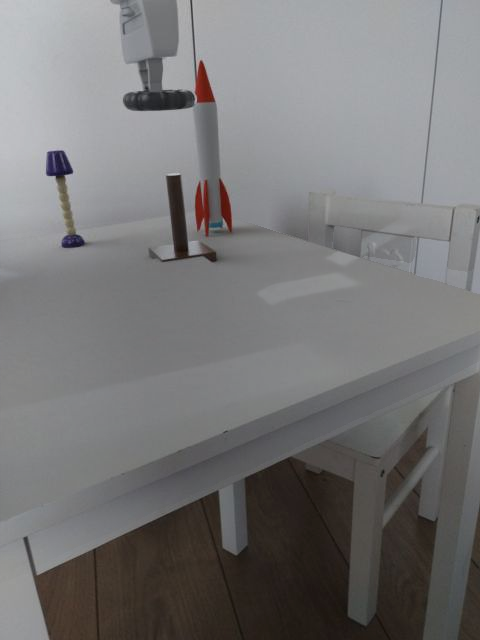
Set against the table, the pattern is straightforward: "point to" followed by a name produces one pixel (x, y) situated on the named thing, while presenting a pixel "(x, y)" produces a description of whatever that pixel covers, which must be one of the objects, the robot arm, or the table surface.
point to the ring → (159, 100)
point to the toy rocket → (209, 159)
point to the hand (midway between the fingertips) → (153, 95)
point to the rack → (179, 229)
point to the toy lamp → (63, 194)
